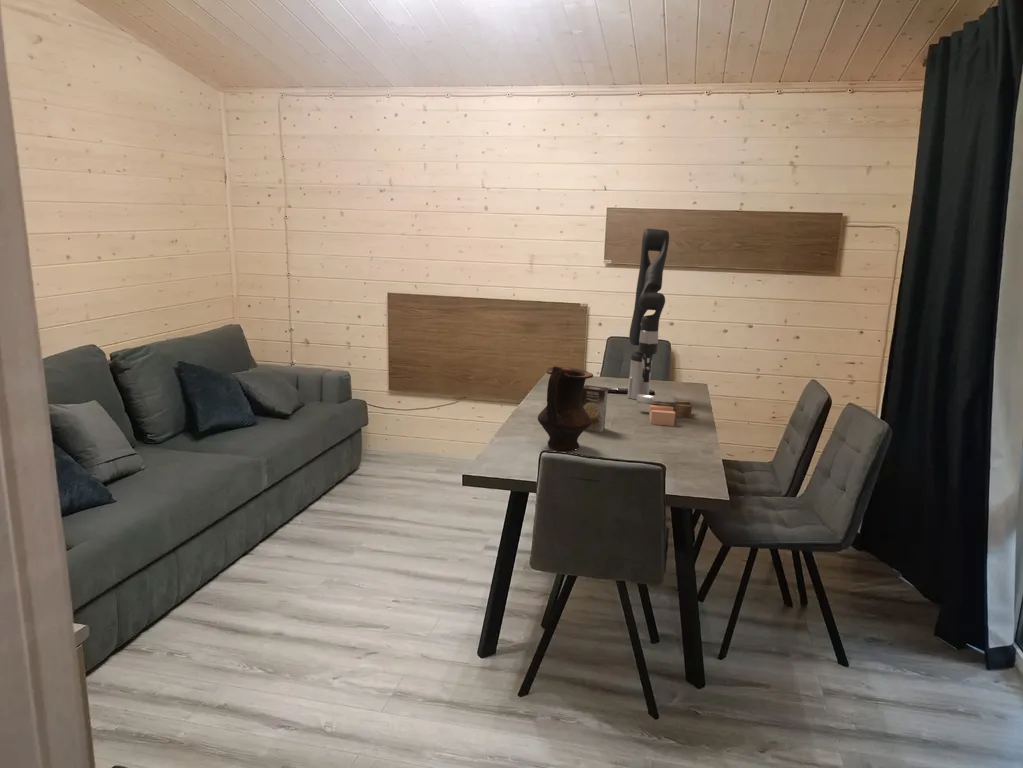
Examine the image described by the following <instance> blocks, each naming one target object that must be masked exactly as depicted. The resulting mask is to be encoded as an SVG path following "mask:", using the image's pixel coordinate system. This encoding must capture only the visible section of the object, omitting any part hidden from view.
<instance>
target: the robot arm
mask: <svg viewBox="0 0 1023 768" xmlns="http://www.w3.org/2000/svg"><path fill="white" fill-rule="evenodd" d="M669 243H670V232H669V231H668V230H666V229H659V228H649V227H648V228H645V229H644V231H643V234H642V240H641V249H640V250H641V251H640V261H639V262H640V264H639V270H638V276H637V282H636V290H635V299H634V300H635V301H634V307H633V308H634V309H633V315H632V319H631V323H630V329H629V337H628V339H629V342H630V344H631V345H632V346H638V350H637V351H634V352H632V353H631V357H630V367H629V369H630V370H629V375H628V385H627V387H628V389H627V398H628V399H633V400H637V394H644V395H650V388H651V387H650V385H651V383H650V382H651V372H652V366H653V365H652V363H653V356H654V355H655V354H657V353H658V344H659V325H660V318H661V316H662V312H663V309H664V307H665V304H666V297H665V295H664V293H661V292H659V291H661V290H662V287H663V274H664V268H665V264H666V260H667V255H668V248H669ZM649 252H659V253H658V255H657V257H656V258H655V259H654V260H653V261H652V262H651V260H650V256H649ZM647 311H655V312H654V313H652V314H648V315H645V314H646V313H647Z"/></svg>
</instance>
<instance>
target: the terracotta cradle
mask: <svg viewBox="0 0 1023 768" xmlns="http://www.w3.org/2000/svg"><path fill="white" fill-rule="evenodd" d="M648 417H649V421H650V424H651V425H660V426H661V425H662V426H672V427H673V426H675V421H676V417H675V411H673V407H670V406H657V405H649V415H648Z"/></svg>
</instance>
